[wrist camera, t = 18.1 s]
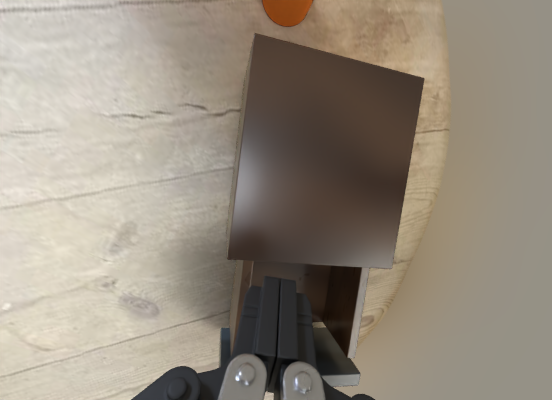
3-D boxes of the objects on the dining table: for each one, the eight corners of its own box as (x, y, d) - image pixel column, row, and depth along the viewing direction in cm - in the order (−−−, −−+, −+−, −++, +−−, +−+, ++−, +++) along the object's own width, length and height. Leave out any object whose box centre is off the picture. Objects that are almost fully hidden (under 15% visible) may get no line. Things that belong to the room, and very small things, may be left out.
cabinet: (343, 241, 29) (392, 269, 20) (226, 232, 26) (227, 259, 17) (363, 107, 27) (425, 77, 19) (244, 81, 25) (254, 32, 16)
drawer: (326, 346, 28) (356, 398, 22) (218, 348, 26) (216, 408, 19) (346, 215, 27) (385, 227, 21) (236, 203, 25) (240, 213, 18)
